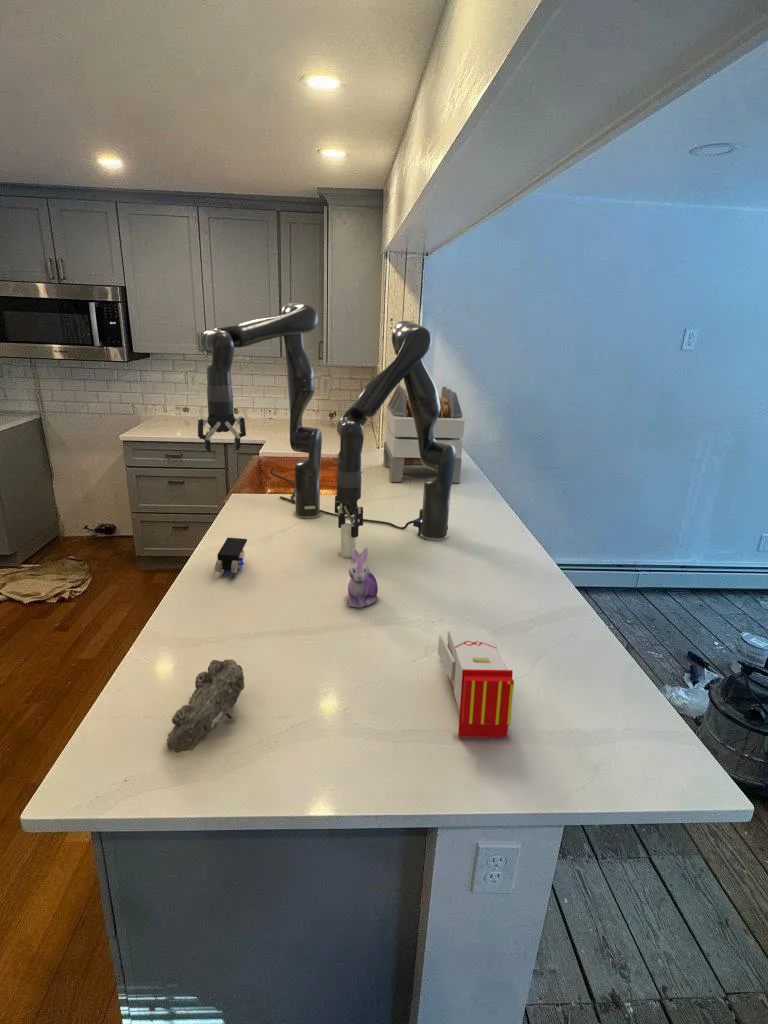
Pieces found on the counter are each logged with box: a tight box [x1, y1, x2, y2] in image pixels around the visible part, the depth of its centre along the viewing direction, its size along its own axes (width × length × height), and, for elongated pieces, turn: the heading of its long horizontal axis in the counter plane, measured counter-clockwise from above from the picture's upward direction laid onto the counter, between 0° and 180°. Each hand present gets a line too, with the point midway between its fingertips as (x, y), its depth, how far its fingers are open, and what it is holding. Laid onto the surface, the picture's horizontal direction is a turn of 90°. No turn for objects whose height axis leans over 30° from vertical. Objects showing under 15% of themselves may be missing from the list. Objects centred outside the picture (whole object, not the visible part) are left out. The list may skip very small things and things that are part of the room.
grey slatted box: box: [383, 384, 465, 484], centre depth 268 cm, size 34×33×41 cm
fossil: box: [166, 658, 245, 754], centre depth 106 cm, size 22×10×15 cm
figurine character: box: [214, 537, 248, 578], centre depth 166 cm, size 7×8×15 cm
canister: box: [339, 522, 357, 558], centre depth 180 cm, size 5×5×10 cm
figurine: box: [346, 546, 379, 609], centre depth 151 cm, size 9×10×15 cm
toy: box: [437, 628, 515, 738], centre depth 117 cm, size 12×13×30 cm
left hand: (223, 450), depth 178 cm, fingers open, 8 cm apart
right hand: (348, 532), depth 179 cm, fingers open, 8 cm apart
